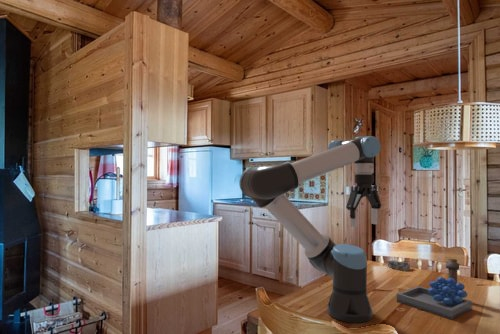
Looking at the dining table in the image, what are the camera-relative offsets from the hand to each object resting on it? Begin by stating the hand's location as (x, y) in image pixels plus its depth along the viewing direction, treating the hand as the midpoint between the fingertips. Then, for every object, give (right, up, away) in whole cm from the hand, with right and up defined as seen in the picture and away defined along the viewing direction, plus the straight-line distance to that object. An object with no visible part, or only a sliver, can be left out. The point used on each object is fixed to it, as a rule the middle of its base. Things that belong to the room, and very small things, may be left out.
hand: (364, 225), depth 135 cm
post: (+35, -29, -3) cm, 45 cm away
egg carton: (+32, -31, +40) cm, 60 cm away
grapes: (+23, -27, -11) cm, 37 cm away
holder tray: (+23, -29, -11) cm, 38 cm away
